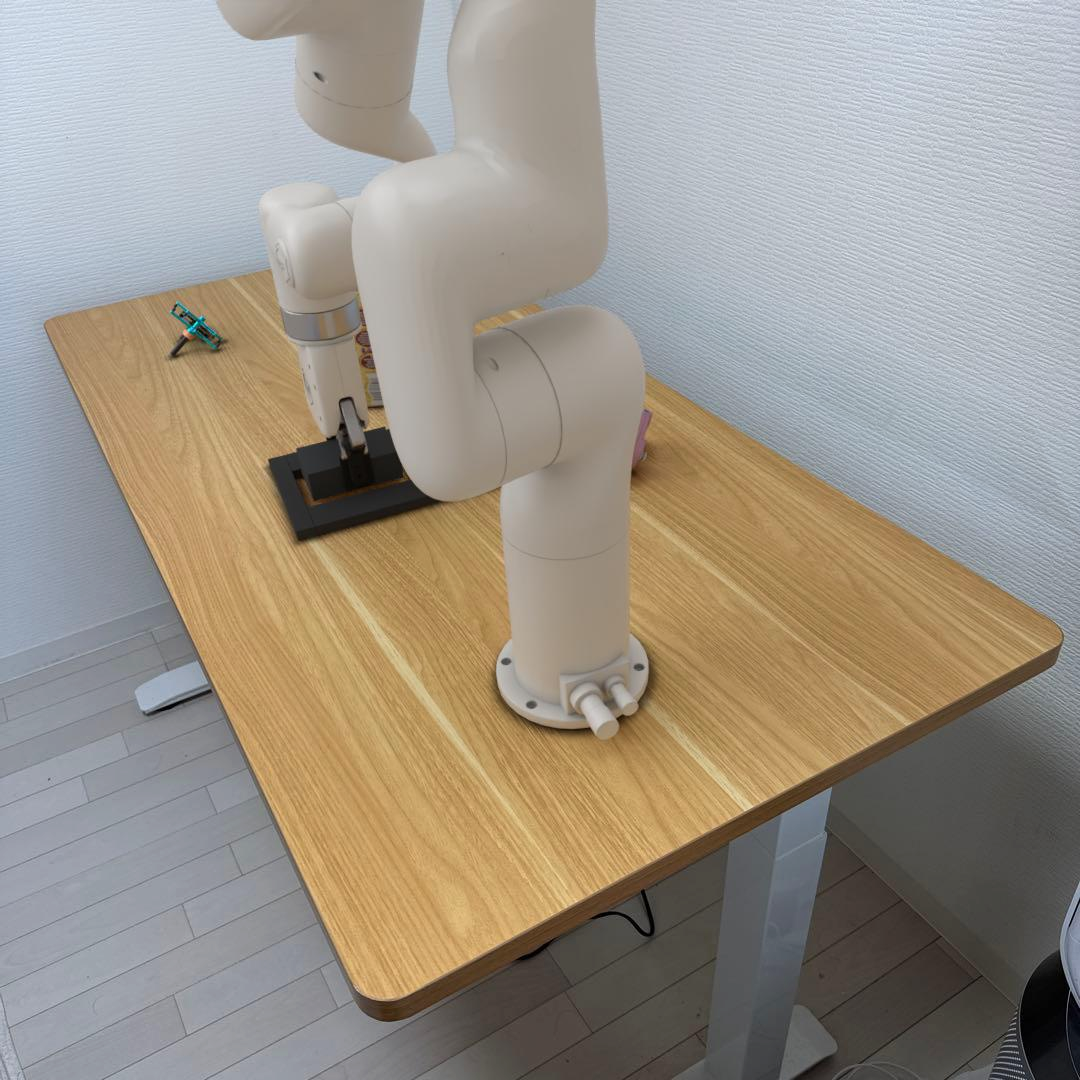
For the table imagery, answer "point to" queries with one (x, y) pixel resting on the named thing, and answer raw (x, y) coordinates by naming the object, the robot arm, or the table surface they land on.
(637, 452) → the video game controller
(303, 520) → the black rectangular frame
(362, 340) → the candy box
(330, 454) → the loose black block
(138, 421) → the table surface
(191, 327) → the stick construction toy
